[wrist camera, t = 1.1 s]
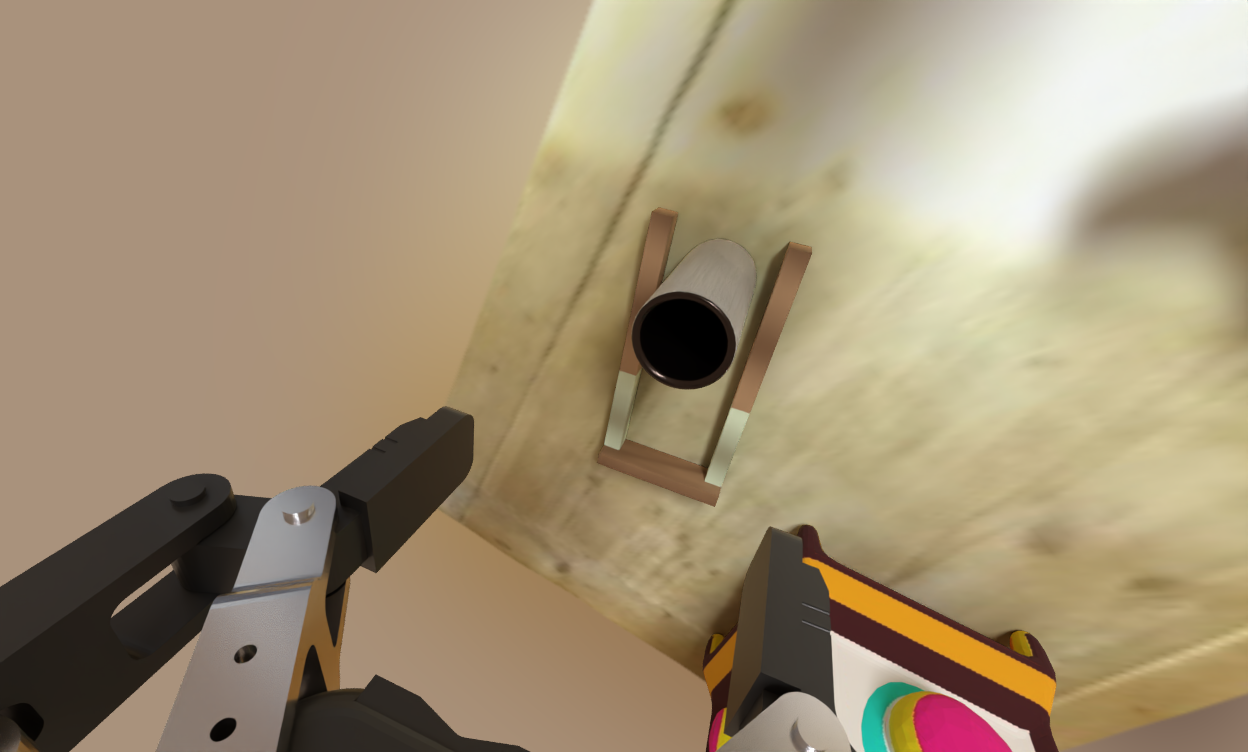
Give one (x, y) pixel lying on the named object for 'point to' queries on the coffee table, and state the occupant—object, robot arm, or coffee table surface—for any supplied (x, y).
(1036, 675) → the decorative lantern
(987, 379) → the coffee table surface
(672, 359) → the grey hollow cylinder
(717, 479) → the guide channel
